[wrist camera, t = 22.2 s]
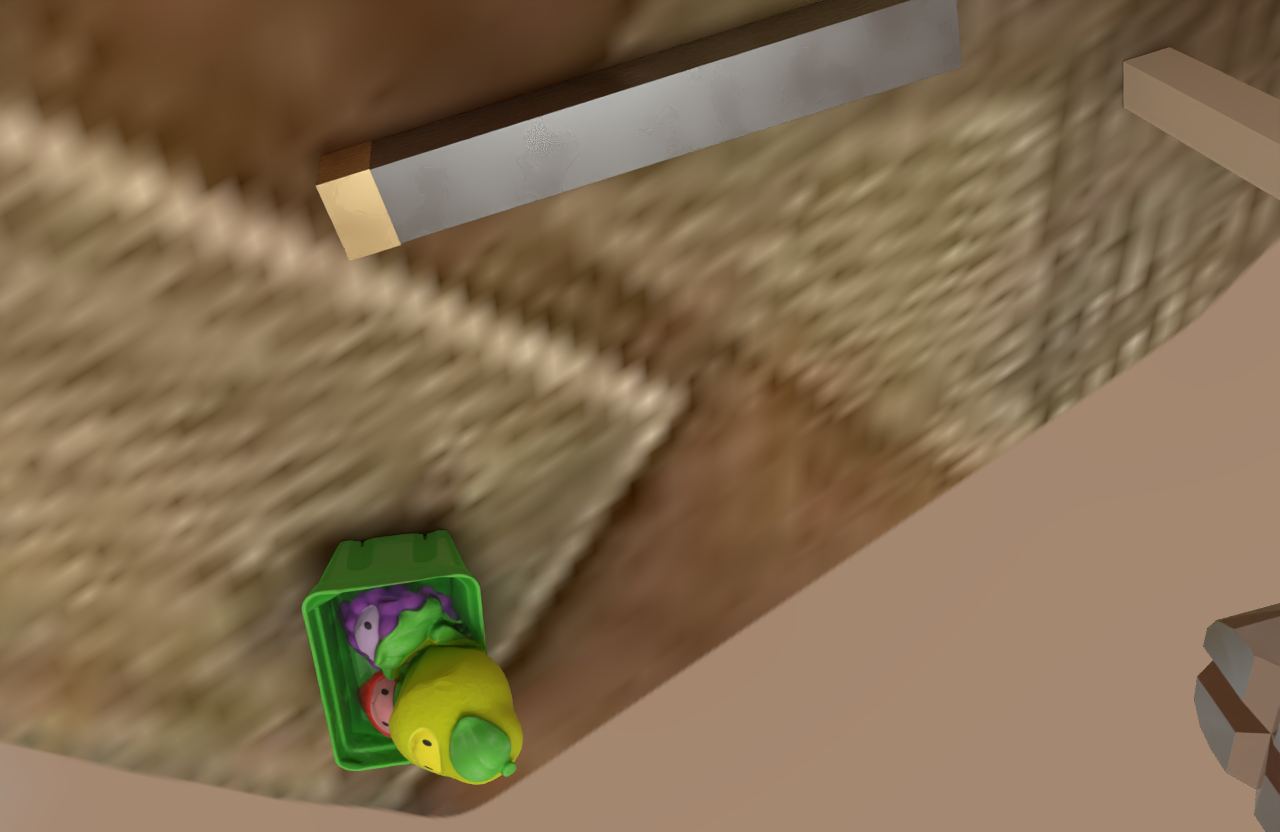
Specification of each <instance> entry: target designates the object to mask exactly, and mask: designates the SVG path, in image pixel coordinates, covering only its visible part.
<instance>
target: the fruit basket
mask: <svg viewBox="0 0 1280 832" xmlns="http://www.w3.org/2000/svg"><path fill="white" fill-rule="evenodd" d="M302 613H303V618H304V621H305V625H306V630H307V634H308V638H309V643H310V647H311V650H312V655H313V659H314V665H315V669H316V673H317V679H318V683H319V688H320V694H321V698H322V702H323V706H324V711H325V715H326V720H327V724H328V729H329V734H330V739H331V743H332V749H333V754H334V759H335V761H336V763H337V765H339V766H340V767H342V768H344V769H346V770H352V771H361V770H368V769H374V768H382V767H389V766H395V765H403V764H409V763H413V764H415V765H417V766H419V767H421V768H424V769H426V770H428V771H431V772H433V773H436V774H439V775H442V776H450V777H452V778H455V779H457V780H460V781H462V782H465V783H468V784H475V785H477V784H485V783H487V782H490V781H492V780H494V779H496V778H497V777H499V776H501V775H503V776H509V775H511V774H512V773H513V772H514V771H515V770H516V764H515V763H513V762H514V761H515V760H516V758H517V756H518V755H519V753H520V751H521V748H522V744H523V733H522V728H521V725H520V723H519V720H518V718H517V716H516V714H515V712H514V709H513V701H512V695H511V691H510V688H509V684H508V682H507V679H506V677H505V675H504V673H503V672H502V670H501V669H500V667H499V666H498V665H497V664H496V663H495V662H494V661H493V660H492V659H491V658H490V657H488V656H487V650H486V640H485V630H484V622H483V612H482V602H481V591H480V586H479V584H478V582H477V580H476V579H475V577H474V575H473V574H472V573H471V571H469V570H468V569H467V568H466V566H465V564H464V562H463V560H462V558H461V556H460V554H459V552H458V550H457V548H456V546H455V544H454V542H453V540H452V538H451V536H450V534H449V532H448V531H447V530H436V531H434V532H431V533H428V534H427V535H426V536H424V535H423V534H415V533H410V534H401V535H392V536H384V537H376V538H372V539H369V540H366V541H365V542H363V543H361V542H360V541H353V540H348V541H342V542H340V544H339V545H338V547H337V549H336V551H335V552H334V554H333V556H332V558H331V560H330V562H329V564H328V565H327V567H326V569H325V571H324V573H323V575H322V577H321V578H320V580H319V582H318V584H317V585H316V586H314V587H313V588H312V590H311V591H310V592H309V594H308V595H307V597H306V598H305V600H304V601H303V604H302Z"/></svg>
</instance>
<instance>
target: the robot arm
mask: <svg viewBox="0 0 1280 832" xmlns="http://www.w3.org/2000/svg"><path fill="white" fill-rule="evenodd" d="M1203 647H1204V648H1205V650H1206V651H1207V653H1208V654H1209V655H1210V657H1211V658H1212V659H1213V661H1212V662H1211V663H1210V664H1209V665H1208V666H1207V667H1206V668H1205V669H1204V670H1203V671H1202V672H1201V673H1200V674H1199V675H1198V676H1197V680H1196V688H1195V695H1194V702H1195V706H1196V711H1197V715H1198V720H1199V724H1200V727H1201V730H1202V732H1203V734H1204V736H1205V738H1206V740H1207V742H1208V744H1209V746H1210V748H1211V750H1212V752H1213V753H1214V755H1215V757H1216V758H1217V760H1218V761H1219V763H1220V764H1221V766H1222V767H1223V769H1224V770H1225V772H1226V773H1228V774H1229V775H1231V776H1233V777H1235V778H1237V779H1238V780H1240V781H1242V782H1244V783H1246V784H1247V785H1249V786H1251V787H1253V788H1254V789H1256V798H1255V811H1254V815H1255V817H1256V818H1257V820H1258V821H1259V823H1260V824H1261V826H1262V827H1263V829H1264V830H1265V832H1280V603H1279V604H1275V605H1271V606H1268V607H1264V608H1260V609H1257V610H1253V611H1249V612H1245V613H1242V614H1238V615H1235V616H1230V617H1227V618H1223V619H1219V620H1216V621H1215V622H1214V623H1213V624H1212V625H1210V626H1209V627H1208V628H1207V631H1206V636H1205V640H1204V645H1203Z"/></svg>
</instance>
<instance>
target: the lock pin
mask: <svg viewBox="0 0 1280 832" xmlns="http://www.w3.org/2000/svg"><path fill="white" fill-rule="evenodd" d="M960 67H962V59H961V47H960V36H959V24H958V13H957V2H956V0H823V1H820V2H817V3H814V4H810V5H807V6H804V7H801V8H798V9H794V10H791V11H788V12H785V13H782V14H778V15H775V16H772V17H769V18H766V19H762V20H759V21H756V22H753V23H750V24H746V25H743V26H740V27H737V28H734V29H730V30H727V31H724V32H721V33H718V34H714V35H711V36H708V37H705V38H702V39H698V40H695V41H692V42H689V43H686V44H682V45H679V46H676V47H673V48H670V49H666V50H663V51H660V52H657V53H654V54H651V55H647V56H644V57H641V58H638V59H635V60H631V61H628V62H625V63H622V64H619V65H615V66H612V67H609V68H606V69H603V70H599V71H596V72H593V73H590V74H587V75H584V76H580V77H577V78H574V79H571V80H568V81H564V82H561V83H558V84H555V85H552V86H548V87H545V88H542V89H539V90H536V91H532V92H529V93H526V94H523V95H520V96H516V97H513V98H510V99H507V100H504V101H501V102H497V103H494V104H491V105H488V106H485V107H481V108H478V109H475V110H472V111H469V112H465V113H462V114H459V115H456V116H453V117H449V118H446V119H443V120H440V121H437V122H434V123H430V124H427V125H424V126H421V127H418V128H414V129H411V130H408V131H405V132H402V133H398V134H395V135H392V136H389V137H386V138H382V139H379V140H376V141H373V142H372V141H368V142H365V143H361V144H358V145H355V146H352V147H349V148H345V149H342V150H339V151H336V152H333V153H329V154H326V155H323V156H321V160H320V165H319V171H318V177H317V182H316V187H317V190H318V192H319V194H320V196H321V198H322V201H323V203H324V205H325V207H326V209H327V212H328V214H329V216H330V218H331V221H332V223H333V225H334V227H335V229H336V232H337V234H338V236H339V238H340V240H341V243H342V245H343V247H344V249H345V252H346V254H347V256H348V258H349V260H350V261H351V260H355V259H358V258H361V257H364V256H367V255H370V254H374V253H377V252H380V251H383V250H386V249H390V248H393V247H396V246H399V245H401V243H403V242H406V241H409V240H412V239H415V238H419V237H422V236H425V235H428V234H431V233H435V232H438V231H441V230H444V229H447V228H451V227H454V226H457V225H460V224H463V223H466V222H470V221H473V220H476V219H479V218H482V217H486V216H489V215H492V214H495V213H498V212H502V211H505V210H508V209H511V208H514V207H517V206H521V205H524V204H527V203H530V202H533V201H537V200H540V199H543V198H546V197H549V196H553V195H556V194H559V193H562V192H565V191H568V190H572V189H575V188H578V187H581V186H584V185H588V184H591V183H594V182H597V181H600V180H603V179H607V178H610V177H613V176H616V175H619V174H623V173H626V172H629V171H632V170H635V169H639V168H642V167H645V166H648V165H651V164H654V163H658V162H661V161H664V160H667V159H670V158H674V157H677V156H680V155H683V154H686V153H690V152H693V151H696V150H699V149H702V148H705V147H709V146H712V145H715V144H718V143H721V142H725V141H728V140H731V139H734V138H737V137H741V136H744V135H747V134H750V133H753V132H756V131H760V130H763V129H766V128H769V127H772V126H776V125H779V124H782V123H785V122H788V121H792V120H795V119H798V118H801V117H804V116H807V115H811V114H814V113H817V112H820V111H823V110H827V109H830V108H833V107H836V106H839V105H843V104H846V103H849V102H852V101H855V100H858V99H862V98H865V97H868V96H871V95H874V94H878V93H881V92H884V91H887V90H890V89H894V88H897V87H900V86H903V85H906V84H909V83H913V82H916V81H919V80H922V79H925V78H929V77H932V76H935V75H938V74H941V73H944V72H948V71H951V70H954V69H957V68H960Z"/></svg>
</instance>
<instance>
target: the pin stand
mask: <svg viewBox="0 0 1280 832" xmlns="http://www.w3.org/2000/svg"><path fill="white" fill-rule="evenodd" d="M1123 107H1124V108H1125V109H1127V110H1129V111H1130V112H1132V113H1134V114H1135V115H1137V116H1139V117H1140V118H1142V119H1144V120H1145V121H1147V122H1149V123H1151V124H1152V125H1154V126H1156V127H1157V128H1159V129H1161V130H1162V131H1164V132H1166V133H1167V134H1169V135H1171V136H1172V137H1174V138H1176V139H1177V140H1179V141H1181V142H1182V143H1184V144H1186V145H1187V146H1189V147H1191V148H1193V149H1194V150H1196V151H1198V152H1199V153H1201V154H1203V155H1204V156H1206V157H1208V158H1209V159H1211V160H1213V161H1214V162H1216V163H1218V164H1219V165H1221V166H1223V167H1224V168H1226V169H1228V170H1230V171H1231V172H1233V173H1235V174H1236V175H1238V176H1240V177H1241V178H1243V179H1245V180H1246V181H1248V182H1250V183H1251V184H1253V185H1255V186H1256V187H1258V188H1260V189H1261V190H1263V191H1265V192H1266V193H1268V194H1270V195H1272V196H1273V197H1275V198H1277V199H1278V200H1280V100H1279V99H1277V98H1275V97H1273V96H1271V95H1269V94H1267V93H1264V92H1262V91H1260V90H1258V89H1256V88H1254V87H1252V86H1250V85H1248V84H1246V83H1244V82H1242V81H1239V80H1237V79H1235V78H1233V77H1231V76H1229V75H1227V74H1225V73H1223V72H1221V71H1219V70H1217V69H1214V68H1212V67H1210V66H1208V65H1206V64H1204V63H1202V62H1200V61H1198V60H1196V59H1194V58H1191V57H1189V56H1187V55H1185V54H1183V53H1181V52H1179V51H1177V50H1175V49H1173V48H1171V47H1168V48H1165V49H1162V50H1159V51H1155V52H1152V53H1149V54H1146V55H1143V56H1139V57H1136V58H1133V59H1130V60H1126V61H1123Z"/></svg>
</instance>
